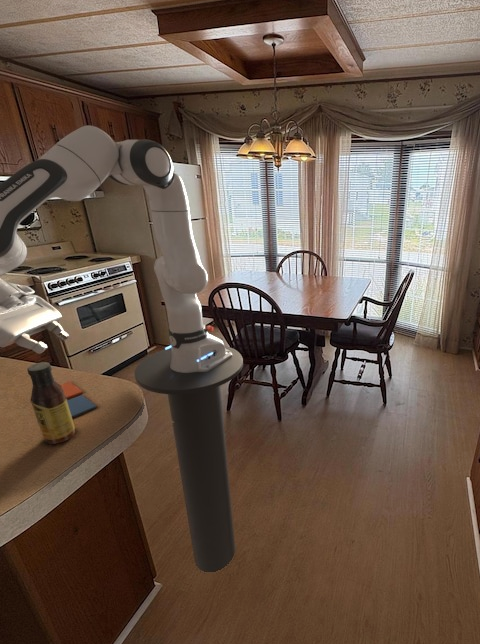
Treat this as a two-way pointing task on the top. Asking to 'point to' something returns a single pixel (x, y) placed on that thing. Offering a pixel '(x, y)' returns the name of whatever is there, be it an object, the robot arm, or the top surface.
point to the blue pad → (80, 405)
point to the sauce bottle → (50, 405)
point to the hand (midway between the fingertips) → (56, 344)
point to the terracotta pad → (70, 390)
